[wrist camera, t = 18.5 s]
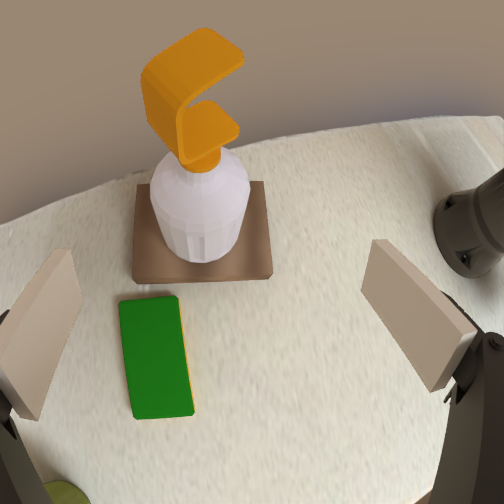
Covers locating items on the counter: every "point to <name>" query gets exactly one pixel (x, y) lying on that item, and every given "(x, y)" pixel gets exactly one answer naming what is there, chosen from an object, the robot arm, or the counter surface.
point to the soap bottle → (195, 148)
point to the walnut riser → (223, 269)
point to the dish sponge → (155, 358)
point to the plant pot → (65, 493)
